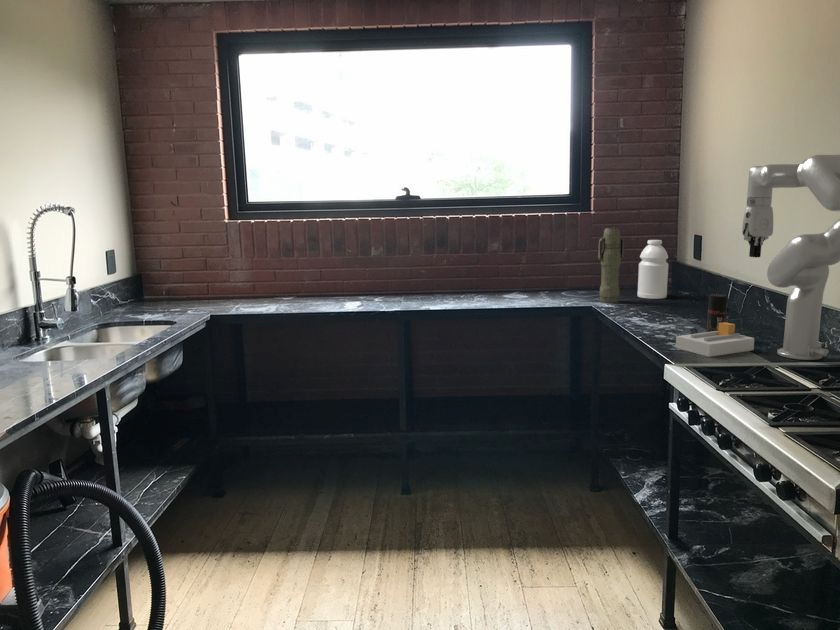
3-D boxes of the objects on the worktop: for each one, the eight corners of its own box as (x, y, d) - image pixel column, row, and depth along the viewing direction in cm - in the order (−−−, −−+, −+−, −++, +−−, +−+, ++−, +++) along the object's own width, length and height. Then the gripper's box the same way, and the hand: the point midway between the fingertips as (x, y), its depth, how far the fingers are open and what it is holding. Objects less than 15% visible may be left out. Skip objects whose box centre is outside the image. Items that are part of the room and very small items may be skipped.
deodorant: (714, 338, 240) (716, 296, 237) (702, 335, 246) (705, 294, 243) (728, 337, 242) (731, 296, 239) (716, 334, 247) (719, 293, 245)
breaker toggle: (734, 336, 225) (735, 324, 224) (727, 336, 224) (728, 325, 223) (724, 333, 228) (725, 322, 228) (717, 334, 227) (718, 323, 226)
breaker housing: (753, 350, 222) (754, 335, 222) (708, 356, 214) (709, 341, 213) (719, 341, 235) (719, 327, 234) (675, 347, 227) (676, 333, 226)
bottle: (633, 294, 342) (636, 239, 337) (661, 294, 341) (664, 239, 336) (641, 299, 328) (644, 241, 323) (670, 299, 328) (673, 241, 323)
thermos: (593, 300, 325) (595, 227, 318) (615, 299, 327) (618, 227, 321) (602, 303, 316) (605, 228, 310) (624, 302, 319) (628, 227, 313)
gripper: (752, 203, 223) (748, 259, 226) (784, 202, 229) (779, 256, 233) (733, 203, 230) (730, 257, 233) (764, 202, 236) (760, 255, 239)
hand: (754, 256), depth 233 cm, fingers closed
